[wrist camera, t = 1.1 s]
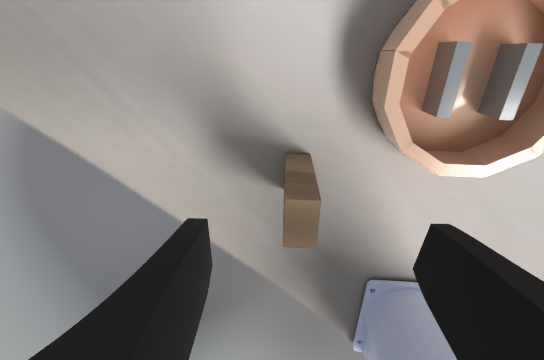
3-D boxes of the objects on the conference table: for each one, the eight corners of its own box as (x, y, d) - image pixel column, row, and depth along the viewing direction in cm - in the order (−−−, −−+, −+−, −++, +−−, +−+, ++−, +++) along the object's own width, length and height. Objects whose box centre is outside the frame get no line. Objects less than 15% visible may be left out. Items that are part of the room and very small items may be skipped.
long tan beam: (307, 190, 21) (315, 248, 15) (284, 189, 21) (282, 246, 15) (310, 154, 20) (321, 200, 14) (285, 153, 20) (285, 199, 14)
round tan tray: (514, 162, 20) (551, 180, 17) (359, 156, 20) (371, 172, 17) (595, -25, 15) (664, -43, 12) (391, -29, 15) (414, -47, 13)
